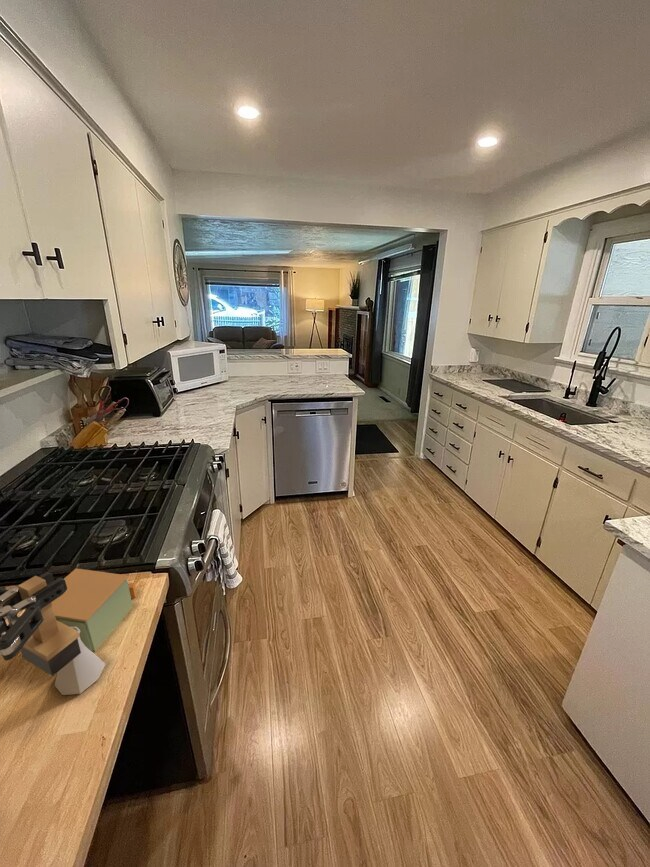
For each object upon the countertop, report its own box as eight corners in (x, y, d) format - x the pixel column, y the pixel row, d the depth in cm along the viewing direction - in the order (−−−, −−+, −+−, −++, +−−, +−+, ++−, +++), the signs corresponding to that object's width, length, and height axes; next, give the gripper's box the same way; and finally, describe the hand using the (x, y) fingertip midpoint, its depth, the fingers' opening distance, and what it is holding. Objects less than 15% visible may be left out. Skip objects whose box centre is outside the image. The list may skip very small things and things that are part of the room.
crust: (133, 587, 80) (134, 582, 81) (119, 589, 79) (120, 584, 80) (135, 597, 81) (136, 592, 82) (121, 600, 80) (123, 595, 81)
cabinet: (35, 645, 69) (23, 612, 66) (84, 598, 80) (75, 568, 77) (93, 656, 67) (83, 622, 64) (135, 605, 78) (128, 575, 76)
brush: (52, 678, 49) (29, 602, 45) (20, 658, 52) (-4, 585, 48) (83, 652, 53) (65, 580, 49) (52, 635, 55) (33, 565, 51)
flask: (45, 690, 61) (29, 648, 58) (82, 653, 68) (69, 613, 64) (80, 701, 60) (66, 658, 56) (113, 661, 66) (103, 621, 63)
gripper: (-101, 694, 33) (84, 572, 48) (-164, 641, 38) (21, 546, 53) (-71, 747, 35) (96, 616, 50) (-134, 690, 40) (35, 586, 55)
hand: (57, 580), depth 51 cm, fingers closed on brush, 2 cm apart
